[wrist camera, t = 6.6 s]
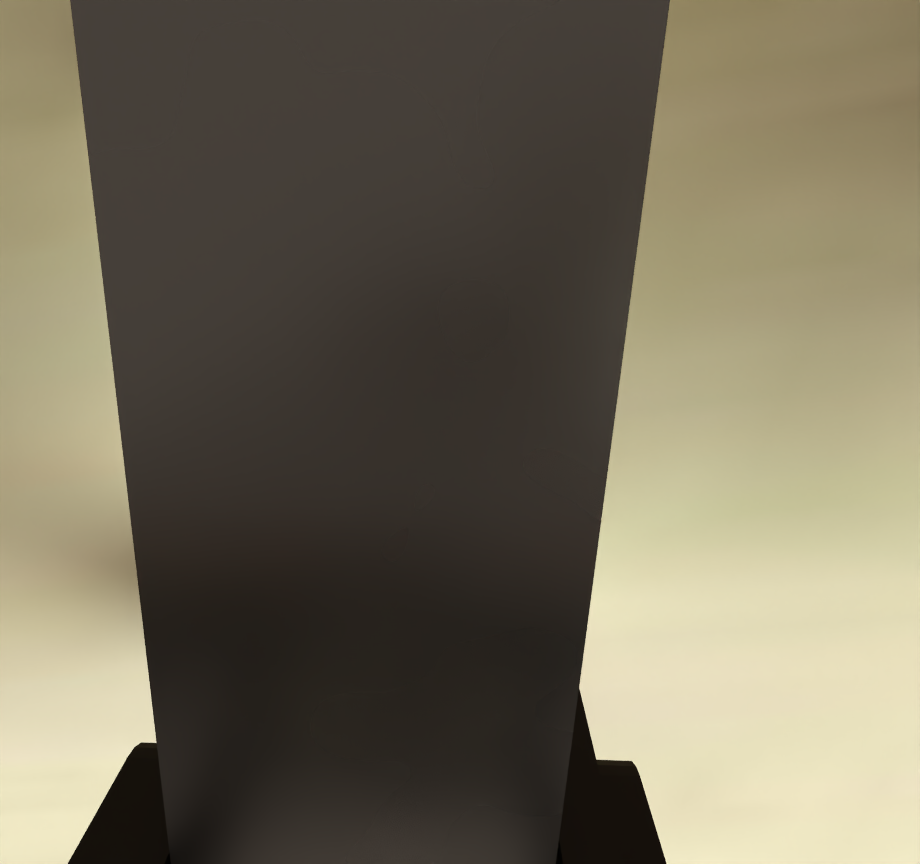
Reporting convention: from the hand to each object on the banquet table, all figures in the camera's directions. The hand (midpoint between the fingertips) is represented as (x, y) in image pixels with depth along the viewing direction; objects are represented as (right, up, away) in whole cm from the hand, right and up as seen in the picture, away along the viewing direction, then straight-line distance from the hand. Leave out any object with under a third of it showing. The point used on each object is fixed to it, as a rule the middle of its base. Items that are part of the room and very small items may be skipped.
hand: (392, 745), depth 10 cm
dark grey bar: (0, +1, +1) cm, 2 cm away
